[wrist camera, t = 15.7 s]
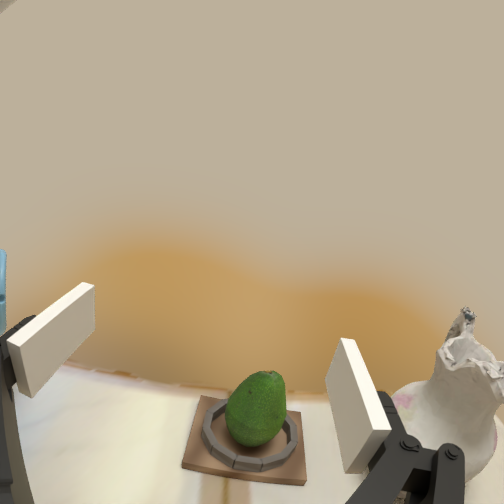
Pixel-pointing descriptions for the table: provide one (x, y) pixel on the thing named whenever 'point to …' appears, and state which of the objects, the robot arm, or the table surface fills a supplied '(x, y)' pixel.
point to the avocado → (257, 409)
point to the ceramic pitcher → (456, 398)
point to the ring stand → (244, 449)
